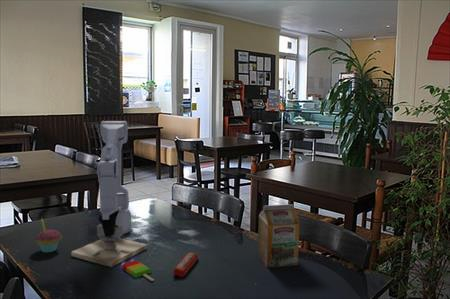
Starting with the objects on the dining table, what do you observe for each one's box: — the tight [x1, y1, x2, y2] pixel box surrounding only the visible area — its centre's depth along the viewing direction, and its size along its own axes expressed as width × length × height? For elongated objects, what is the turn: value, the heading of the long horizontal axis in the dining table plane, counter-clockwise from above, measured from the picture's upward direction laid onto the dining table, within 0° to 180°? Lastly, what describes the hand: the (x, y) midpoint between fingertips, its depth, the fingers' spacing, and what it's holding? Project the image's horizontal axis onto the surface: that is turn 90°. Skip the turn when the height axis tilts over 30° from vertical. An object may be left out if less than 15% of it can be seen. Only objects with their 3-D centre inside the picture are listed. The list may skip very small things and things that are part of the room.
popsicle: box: [121, 260, 155, 282], centre depth 128 cm, size 6×15×2 cm, turn 41°
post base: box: [71, 237, 148, 268], centre depth 144 cm, size 18×18×4 cm
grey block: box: [96, 223, 123, 242], centre depth 144 cm, size 8×6×5 cm
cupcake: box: [34, 217, 63, 253], centre depth 145 cm, size 9×8×12 cm
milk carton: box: [257, 203, 300, 268], centre depth 138 cm, size 11×11×19 cm
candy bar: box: [173, 251, 199, 278], centre depth 133 cm, size 16×4×3 cm, turn 165°
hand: (109, 233), depth 144 cm, fingers closed on grey block, 5 cm apart
